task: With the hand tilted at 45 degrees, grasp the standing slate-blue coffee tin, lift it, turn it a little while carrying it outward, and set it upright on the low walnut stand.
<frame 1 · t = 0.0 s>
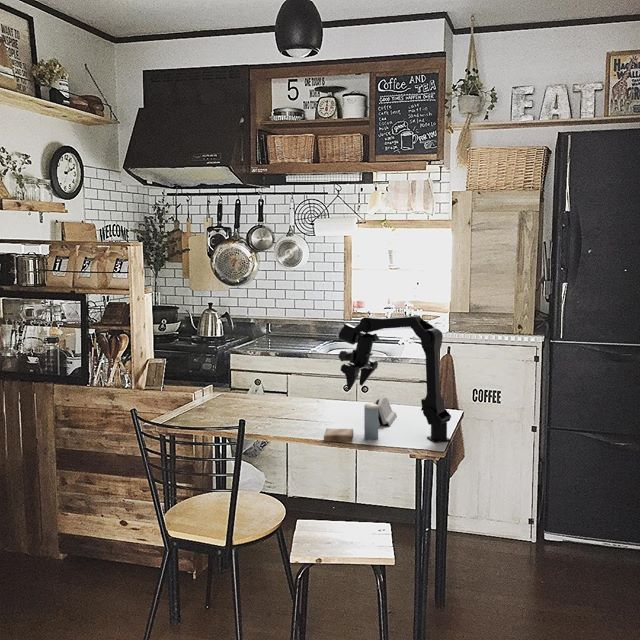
hand: (354, 387, 293), 15 cm above the table, tool pointing down, fingers open, 9 cm apart
stand: (338, 437, 280), on the table
hinge: (384, 421, 304), on the table
tin: (371, 437, 279), on the table
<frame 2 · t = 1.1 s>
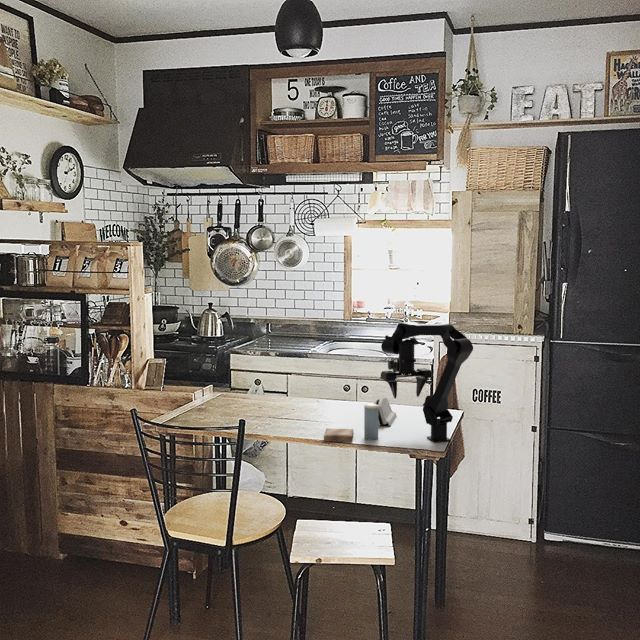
hand: (406, 397, 287), 13 cm above the table, tool pointing down, fingers open, 9 cm apart
nothing on the table moved.
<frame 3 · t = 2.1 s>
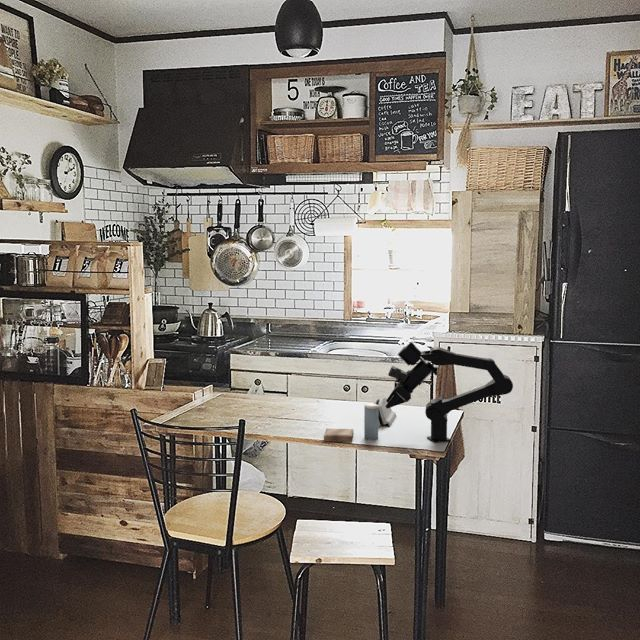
hand: (386, 404, 277), 12 cm above the table, tool tilted 45°, fingers open, 9 cm apart
nothing on the table moved.
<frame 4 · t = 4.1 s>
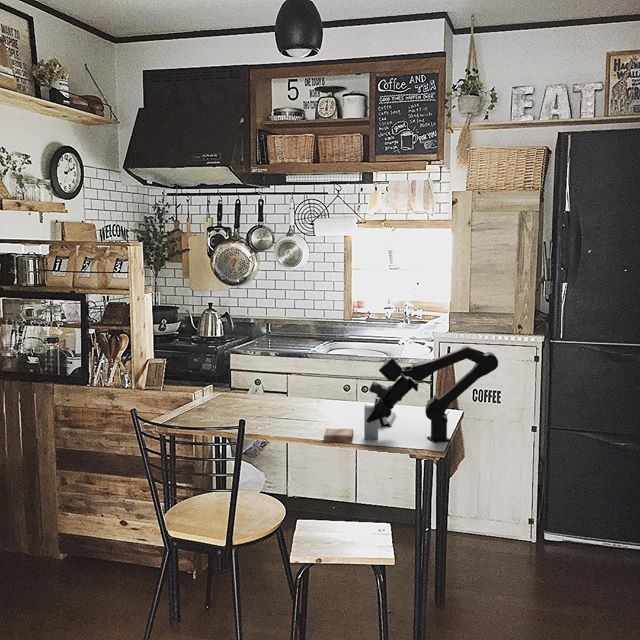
hand: (367, 419, 279), 7 cm above the table, tool tilted 45°, fingers closed on tin, 5 cm apart
tin: (371, 437, 279), on the table, touching gripper
everything else where it was.
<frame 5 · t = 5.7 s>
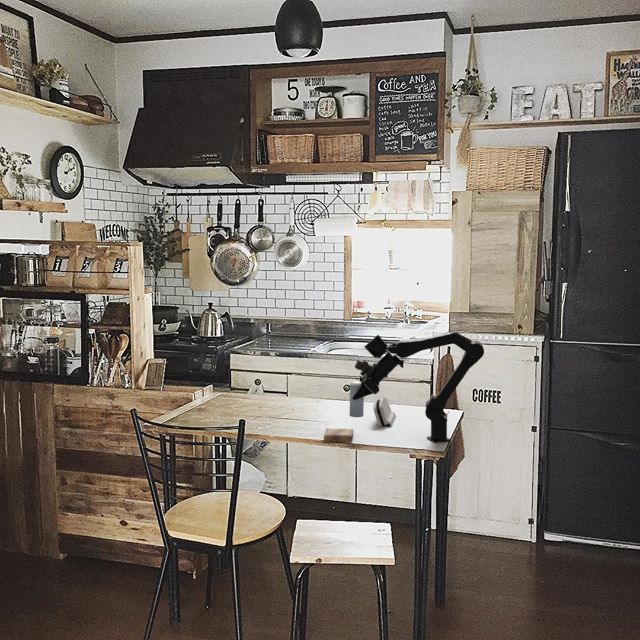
hand: (352, 397, 277), 15 cm above the table, tool tilted 45°, fingers closed on tin, 5 cm apart
tin: (356, 415, 278), point 8 cm above the table, touching gripper
everything else where it was.
when the fingers open (9 cm above the table, at t = 7.3 s): tin stays where it is, resting on stand.
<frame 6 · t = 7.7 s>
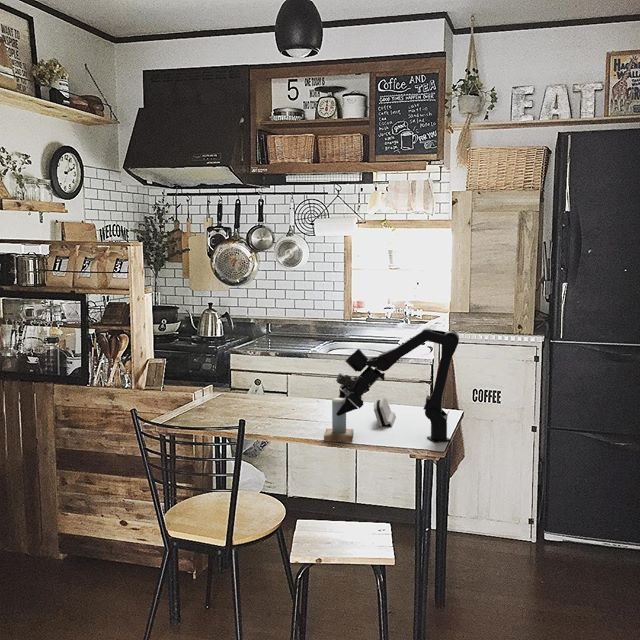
hand: (335, 412, 279), 10 cm above the table, tool tilted 45°, fingers open, 9 cm apart
tin: (339, 431, 280), point 2 cm above the table, touching stand
everything else where it was.
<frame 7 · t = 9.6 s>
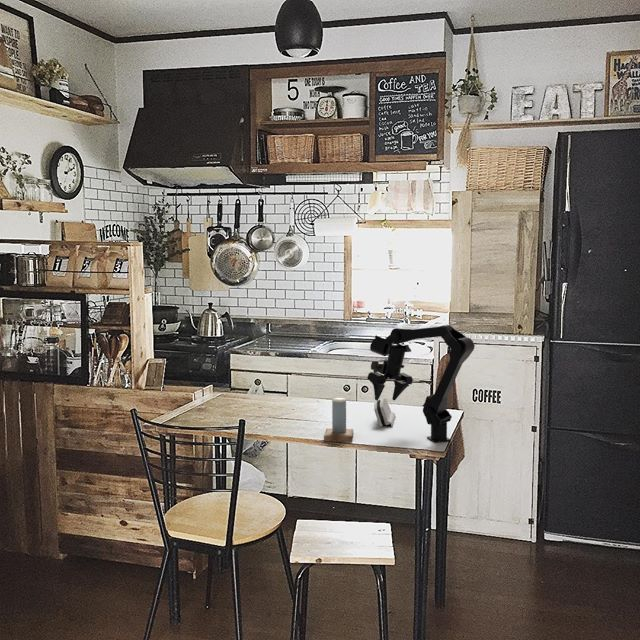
hand: (385, 400, 287), 12 cm above the table, tool pointing down, fingers open, 9 cm apart
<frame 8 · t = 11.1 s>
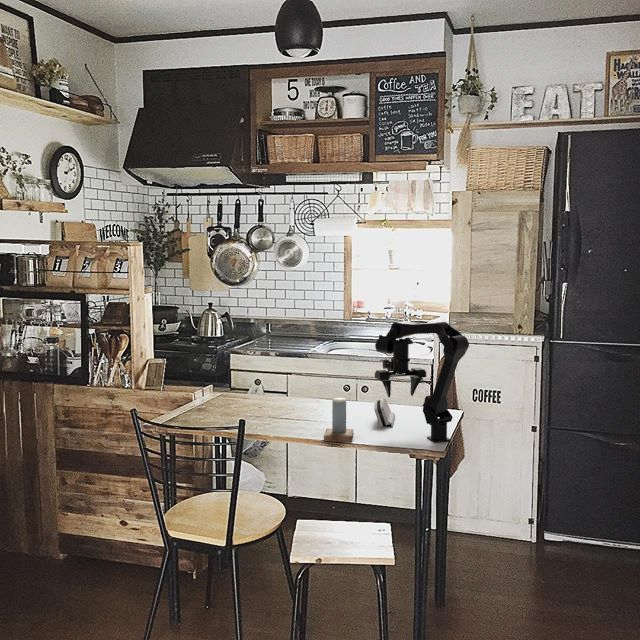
hand: (400, 396, 288), 13 cm above the table, tool pointing down, fingers open, 9 cm apart
at the end: tin inside the target area on the stand (0.1 cm from its centre), point 2.2 cm above the stand's base; tin tilted 0°; the gripper is holding nothing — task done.
